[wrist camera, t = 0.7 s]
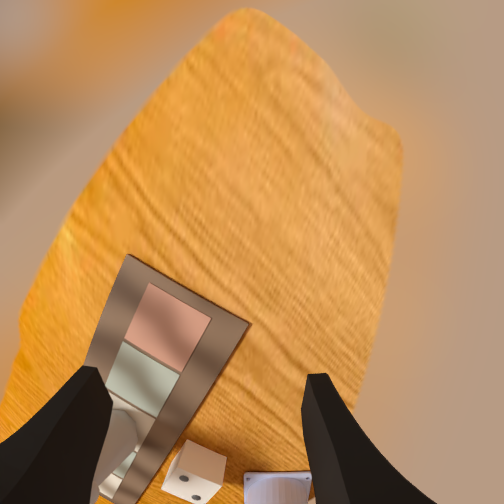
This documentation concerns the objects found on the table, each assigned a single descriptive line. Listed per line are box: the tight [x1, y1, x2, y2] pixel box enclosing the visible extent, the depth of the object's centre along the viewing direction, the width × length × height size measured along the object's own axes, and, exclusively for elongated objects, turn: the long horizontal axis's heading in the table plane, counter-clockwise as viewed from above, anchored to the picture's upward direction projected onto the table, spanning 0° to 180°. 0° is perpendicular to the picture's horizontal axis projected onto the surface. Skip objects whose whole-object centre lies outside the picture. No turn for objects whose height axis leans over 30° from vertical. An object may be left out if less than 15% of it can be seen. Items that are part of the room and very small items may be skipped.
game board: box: [84, 254, 249, 504], centre depth 31 cm, size 37×13×1 cm, turn 151°
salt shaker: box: [90, 409, 138, 504], centre depth 24 cm, size 6×6×13 cm
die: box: [161, 439, 227, 504], centre depth 29 cm, size 5×5×5 cm
